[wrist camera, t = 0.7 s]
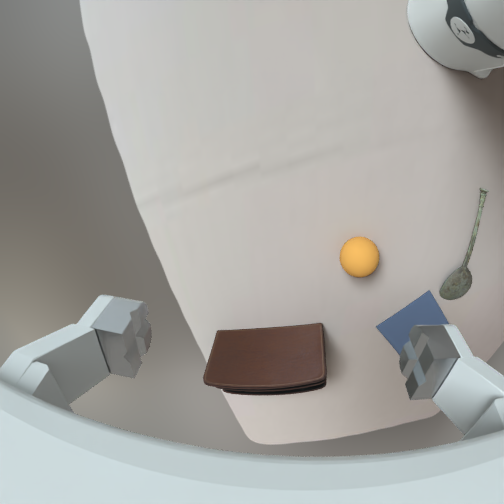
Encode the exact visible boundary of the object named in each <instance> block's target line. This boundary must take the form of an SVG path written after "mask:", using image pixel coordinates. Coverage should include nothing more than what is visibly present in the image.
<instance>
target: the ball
mask: <svg viewBox="0 0 504 504" xmlns="http://www.w3.org/2000/svg"><path fill="white" fill-rule="evenodd" d="M340 262H341V265H342V267H343V269H344V270H345V271H346V272H347V273H348V274H349V275H351V276H354V277H365V276H368V275H370V274H371V273H372V272H373V271H374V270H375V269H376V267H377V265H378V263H379V251H378V249H377V247H376V245H375V244H374V243H373V242H372V241H371V240H369V239H368V238H365V237H354V238H352V239H350V240H348V241H347V242H346V243H345V244H344V245H343V247H342V249H341V252H340Z"/></svg>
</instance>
